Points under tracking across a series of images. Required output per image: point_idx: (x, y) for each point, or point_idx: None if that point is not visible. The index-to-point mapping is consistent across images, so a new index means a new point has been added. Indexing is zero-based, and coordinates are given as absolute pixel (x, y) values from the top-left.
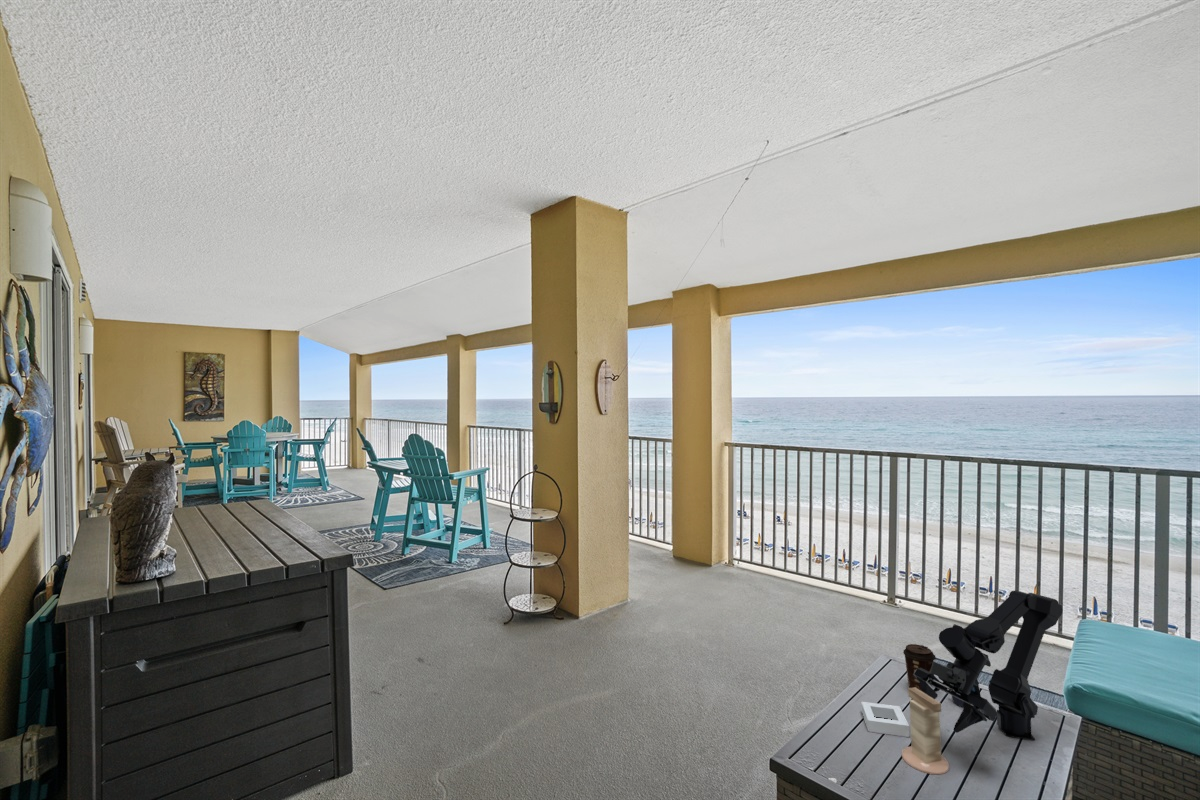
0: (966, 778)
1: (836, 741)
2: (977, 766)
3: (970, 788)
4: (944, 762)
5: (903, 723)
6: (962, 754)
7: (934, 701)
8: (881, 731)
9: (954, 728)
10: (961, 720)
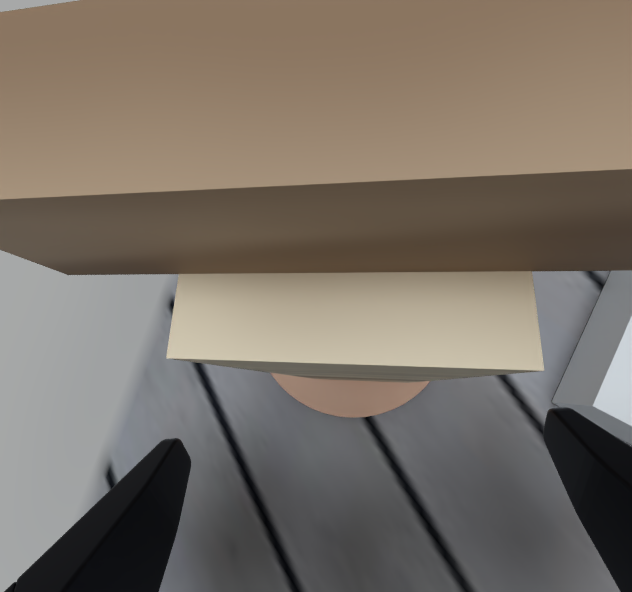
0: (205, 396)
1: None
2: (248, 540)
3: (160, 355)
4: (299, 381)
5: (627, 390)
6: (347, 564)
7: (1, 114)
8: (613, 274)
9: (163, 449)
10: (45, 555)
